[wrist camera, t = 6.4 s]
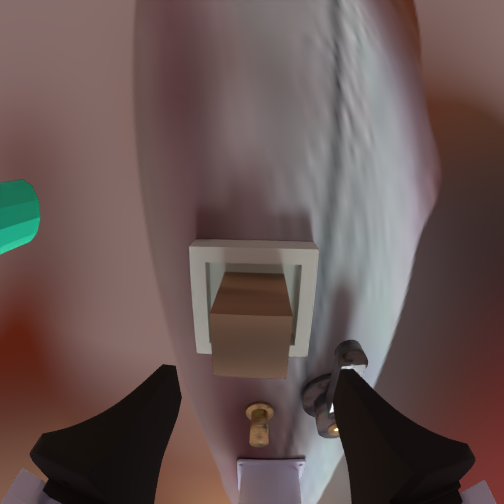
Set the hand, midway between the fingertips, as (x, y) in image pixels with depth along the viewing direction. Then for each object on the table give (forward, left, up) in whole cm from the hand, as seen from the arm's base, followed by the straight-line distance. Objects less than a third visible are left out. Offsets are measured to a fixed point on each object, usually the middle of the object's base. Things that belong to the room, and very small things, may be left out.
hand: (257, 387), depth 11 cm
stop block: (0, 0, -9) cm, 9 cm away
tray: (0, 0, -9) cm, 9 cm away
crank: (-7, -7, -8) cm, 12 cm away
